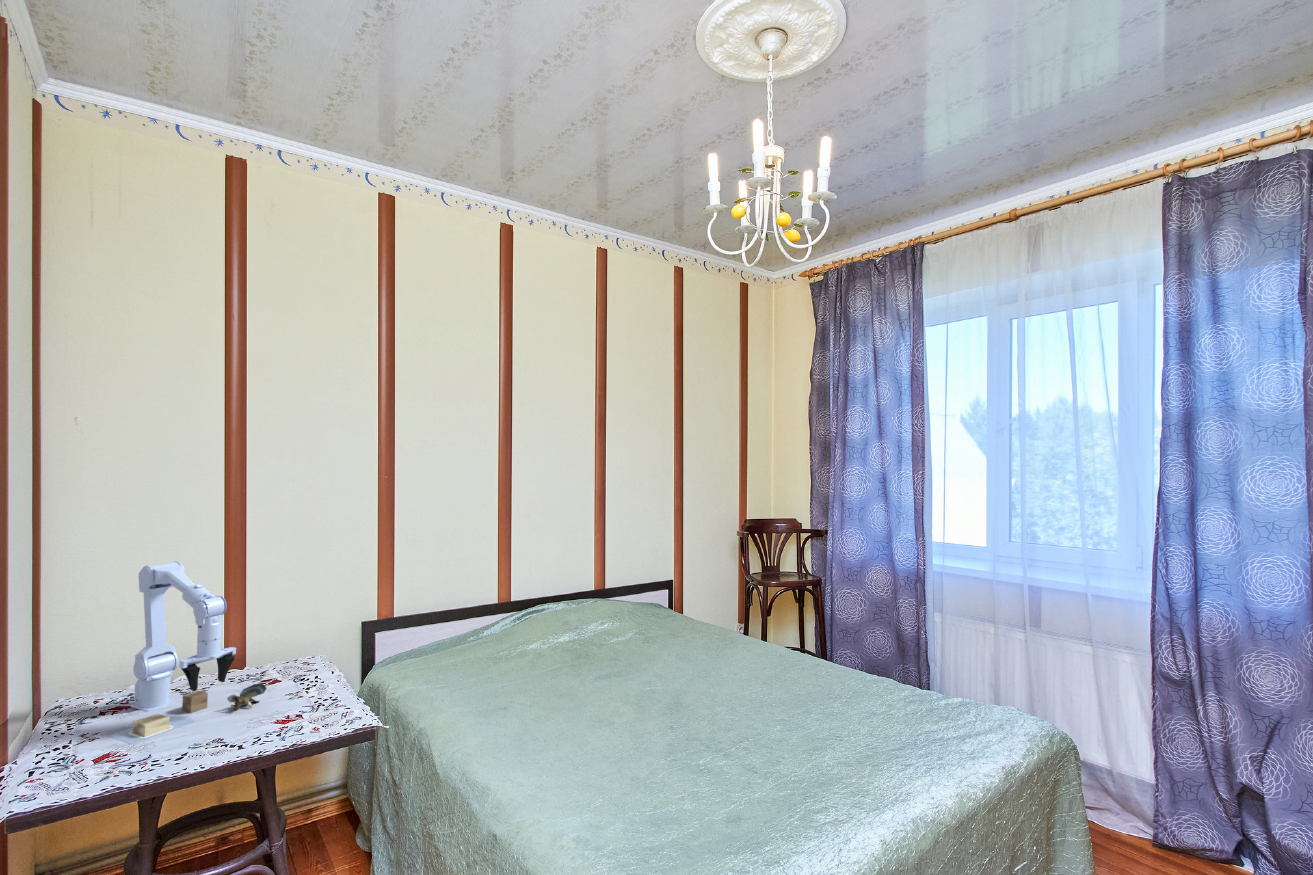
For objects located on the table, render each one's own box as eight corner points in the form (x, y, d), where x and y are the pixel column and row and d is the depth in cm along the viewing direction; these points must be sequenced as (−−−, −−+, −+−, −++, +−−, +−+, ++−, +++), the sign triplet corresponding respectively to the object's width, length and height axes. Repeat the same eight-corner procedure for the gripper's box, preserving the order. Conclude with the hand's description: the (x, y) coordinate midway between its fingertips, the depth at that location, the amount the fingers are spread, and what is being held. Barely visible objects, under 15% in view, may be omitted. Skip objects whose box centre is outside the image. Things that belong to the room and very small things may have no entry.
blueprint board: (107, 737, 171) (107, 735, 171) (172, 715, 185) (172, 713, 185) (131, 745, 166) (131, 743, 166) (196, 722, 180) (196, 720, 180)
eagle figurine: (251, 709, 187) (272, 692, 196) (237, 690, 186) (258, 674, 195) (233, 721, 188) (255, 704, 197) (219, 702, 188) (241, 686, 196)
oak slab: (132, 732, 173) (132, 721, 173) (157, 724, 178) (157, 713, 178) (144, 736, 170) (145, 725, 170) (169, 727, 176) (169, 717, 176)
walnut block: (182, 712, 188) (182, 695, 188) (198, 706, 192) (198, 690, 192) (191, 714, 186) (191, 697, 186) (207, 709, 190) (207, 692, 190)
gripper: (190, 647, 175) (188, 696, 175) (242, 634, 188) (241, 679, 188) (175, 644, 178) (174, 691, 178) (228, 631, 191) (227, 675, 191)
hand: (207, 685), depth 183 cm, fingers open, 7 cm apart
